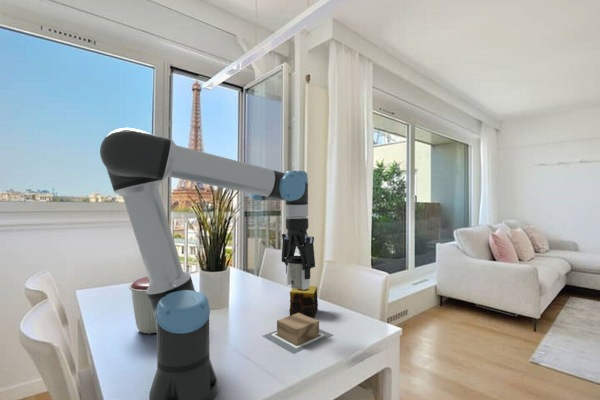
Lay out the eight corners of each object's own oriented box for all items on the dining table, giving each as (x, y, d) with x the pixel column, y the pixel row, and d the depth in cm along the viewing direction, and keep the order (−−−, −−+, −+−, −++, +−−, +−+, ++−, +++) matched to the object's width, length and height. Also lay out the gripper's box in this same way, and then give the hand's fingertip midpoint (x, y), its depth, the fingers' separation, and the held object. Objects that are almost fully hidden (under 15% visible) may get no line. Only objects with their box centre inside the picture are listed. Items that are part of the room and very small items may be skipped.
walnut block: (296, 345, 96) (296, 329, 96) (277, 335, 104) (276, 320, 104) (319, 335, 103) (319, 320, 103) (299, 326, 110) (298, 312, 110)
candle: (314, 319, 118) (314, 293, 118) (289, 317, 120) (288, 292, 120) (318, 309, 128) (318, 286, 128) (294, 308, 130) (294, 284, 130)
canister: (194, 321, 118) (194, 265, 117) (161, 342, 100) (160, 278, 100) (155, 316, 122) (154, 263, 122) (117, 336, 105) (116, 274, 105)
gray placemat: (293, 355, 91) (293, 353, 91) (262, 337, 103) (262, 335, 103) (333, 336, 103) (333, 334, 103) (301, 322, 115) (301, 320, 115)
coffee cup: (289, 290, 98) (289, 259, 98) (285, 284, 105) (284, 255, 105) (310, 288, 100) (310, 258, 100) (304, 283, 107) (304, 254, 107)
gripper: (326, 218, 98) (327, 290, 98) (286, 215, 112) (287, 278, 113) (309, 219, 93) (310, 295, 93) (270, 216, 107) (271, 282, 108)
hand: (297, 286), depth 103 cm, fingers closed on coffee cup, 7 cm apart
